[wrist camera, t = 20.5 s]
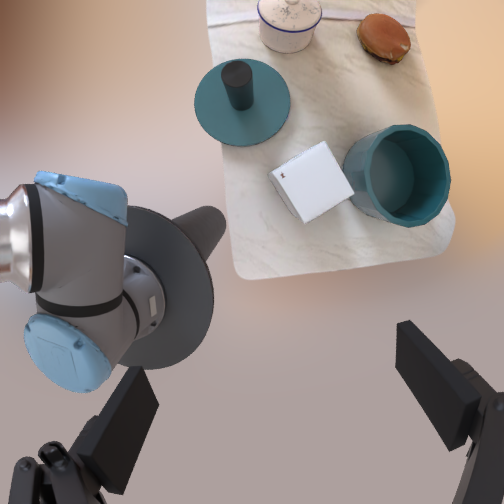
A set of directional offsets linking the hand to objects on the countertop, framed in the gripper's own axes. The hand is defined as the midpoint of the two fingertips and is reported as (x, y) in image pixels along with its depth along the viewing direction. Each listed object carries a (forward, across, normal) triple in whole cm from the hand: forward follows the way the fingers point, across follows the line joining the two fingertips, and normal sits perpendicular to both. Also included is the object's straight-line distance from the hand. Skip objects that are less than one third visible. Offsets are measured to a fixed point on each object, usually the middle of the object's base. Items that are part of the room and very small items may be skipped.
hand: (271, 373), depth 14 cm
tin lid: (+34, +1, +22) cm, 41 cm away
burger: (+35, +27, +31) cm, 54 cm away
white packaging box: (+35, +7, +8) cm, 37 cm away
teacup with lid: (+35, +10, +35) cm, 50 cm away
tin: (+35, +21, +7) cm, 41 cm away
